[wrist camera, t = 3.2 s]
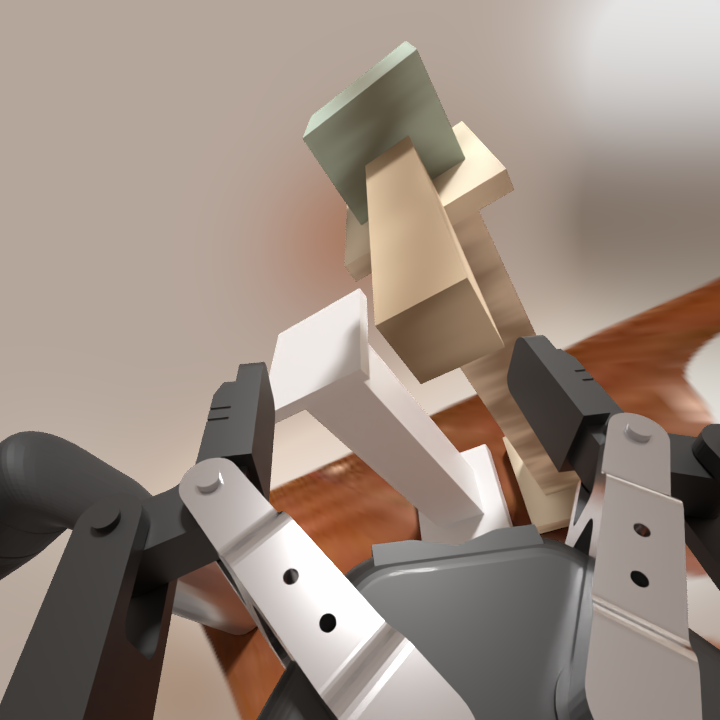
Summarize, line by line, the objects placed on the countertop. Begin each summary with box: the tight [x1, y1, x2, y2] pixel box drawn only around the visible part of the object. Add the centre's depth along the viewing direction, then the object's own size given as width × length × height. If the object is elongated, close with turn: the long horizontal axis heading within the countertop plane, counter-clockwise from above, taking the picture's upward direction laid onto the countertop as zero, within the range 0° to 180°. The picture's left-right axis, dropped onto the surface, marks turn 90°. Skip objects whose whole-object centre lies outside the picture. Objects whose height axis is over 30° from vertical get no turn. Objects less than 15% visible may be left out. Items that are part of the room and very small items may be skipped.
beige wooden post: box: [345, 121, 580, 534], centre depth 30 cm, size 9×10×32 cm
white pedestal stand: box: [269, 288, 513, 545], centre depth 36 cm, size 9×10×26 cm
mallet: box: [303, 41, 505, 384], centre depth 16 cm, size 6×18×5 cm, turn 0°
